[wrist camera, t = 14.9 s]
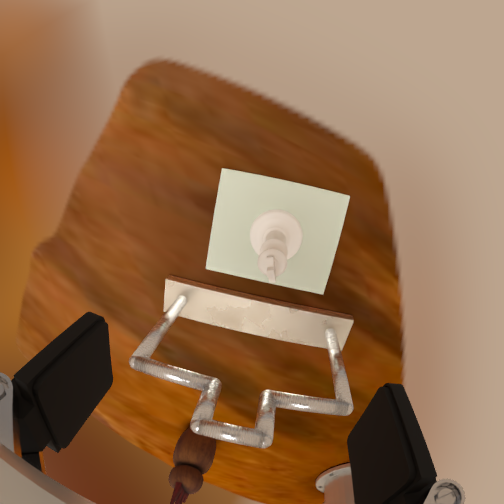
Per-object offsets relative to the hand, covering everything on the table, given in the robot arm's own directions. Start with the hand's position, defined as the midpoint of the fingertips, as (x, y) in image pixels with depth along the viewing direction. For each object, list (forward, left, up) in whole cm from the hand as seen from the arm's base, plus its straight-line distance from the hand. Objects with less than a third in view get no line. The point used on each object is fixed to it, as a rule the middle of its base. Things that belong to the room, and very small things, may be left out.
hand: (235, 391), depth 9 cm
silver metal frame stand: (-8, 0, -21) cm, 22 cm away
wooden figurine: (-32, +4, -21) cm, 39 cm away
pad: (+1, 0, -21) cm, 21 cm away
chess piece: (+1, 0, -20) cm, 20 cm away
